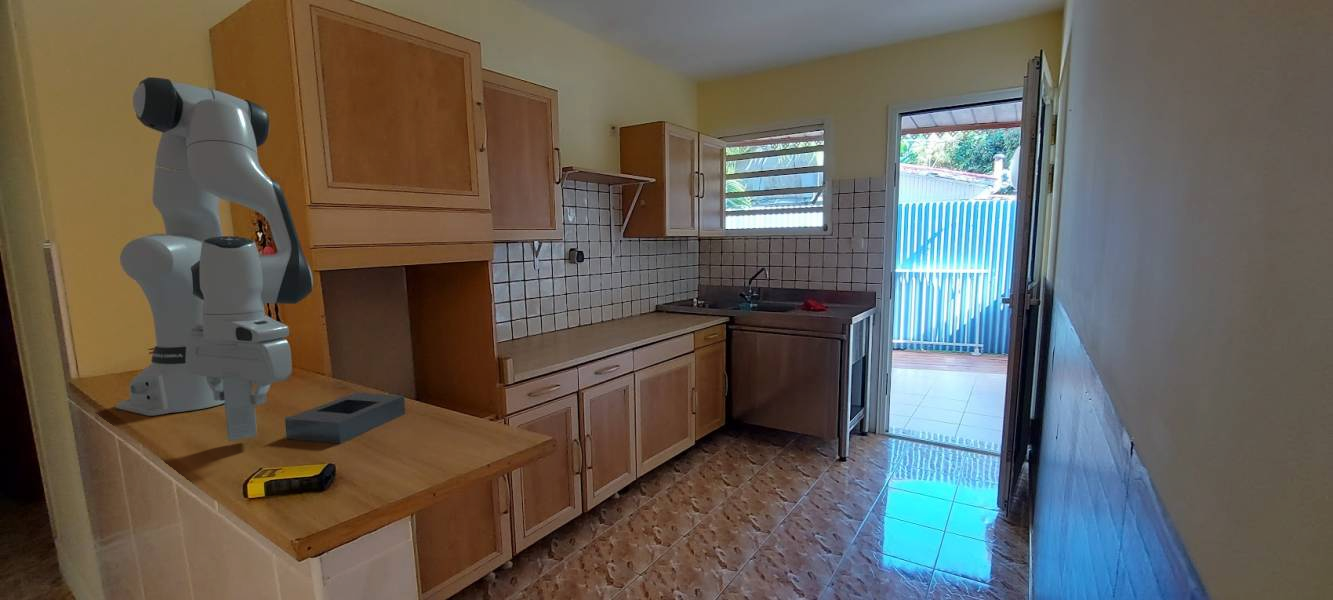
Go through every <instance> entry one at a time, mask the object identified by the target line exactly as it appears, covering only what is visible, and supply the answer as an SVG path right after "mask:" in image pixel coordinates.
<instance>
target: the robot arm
mask: <svg viewBox="0 0 1333 600" xmlns="http://www.w3.org/2000/svg"><path fill="white" fill-rule="evenodd" d="M132 104H133V109H134V112H135V114H136V118H137V119H138V120H139V122H140V123H141V124H142V125H144V127H146V128H149V129H151V130H155V131H156V132H159V133H162V134H161V135H160V139H159V143H158V146H157V151H156V157H155V163H154V171H153V172H154V173H153V174H154V175H153V186H152V187H153V188H152V198H151V199H152V200H151V201H152V203H153V205H154V207H155V209H157V210H158V212H159V213H160V216H161V217H162V221H163V224H164V228H165V233H154V234H153V233H152V234H148V235H145V236H141V237H137V238H135V239H132V240H131V241H129V242H128V243H127V244H125V245H124V247H123V248H122V250H121V252H120V255H119V261H120V266H121V269H122V270H123V271H124V273H125V274H126V275H127V276H129V277H130V278H131V279H133V280H134V281H135V282H136V283H137V284H138V285H139V286H140V288H141V290H142V292H143V294H144V296H145V297H146V300H147V302H148V304H149V306H150V307H149V308H150V309H151V312H152V317H153V322H154V323H153V325H154V331H155V343H156V345H155V347H154V348H153V347H152V348H148V349H147V350H148V351H150V352H148V353H147V354H148V355H152V356H151V363H150V364H149V365H148V366H147V367H145V369H143V370H142V371H141V372H140V373H138V374H137V375H136V376H134V377H133V378H132V379H131V381H130V383H129V398H128V399H124V400H121V401H119V402H117V403H116V404H115V408H116V409H119V410H123V411H127V412H132V413H136V414H140V415H145V416H149V417H152V416H153V417H154V416H160V415H165V414H171V413H181V412H189V411H197V410H201V409H207V408H211V407H216V406H219V405H222V404H225V401H224V390H223V373H228V374H238V375H239V377H240V379H241V380H248V381H252V382H253V387H255V388H256V389H255V390H254V392H253V395H250V398H251V404H254V405H259V406H261V405H263V404H266V402H267V393H268V391H269V390H270V388H271V385H272V384H273V383H277V382H282V381H284V380H287V379H289V377H290V376H291V375H292V370H293V369H292V368H293V366H292V352H291V351H292V350H291V346H290V343H289V342H288V340H287V339H286V338H287V337H289V335H290V328H289V326H288V325H287V324H285V323H282V322H281V321H278V320H275V319H274V318H271V317H270V316H269V315H266V313H265V305H264V304H274V303H275V304H281V305H282V304H283V305H288V304H289V305H296V304H298V303H300V302H301V301H303V300H304V299H306V298H307V296H309V295H310V294H311V293H312V292H313V287H314V277H313V272H312V270H311V267H310V265H309V263H308V261H307V259H306V256H305V253H304V251H303V248H302V244H301V243H300V239H299V234H298V232H297V229H296V225H295V223H294V220H293V217H292V212H291V210H290V207H289V204H288V201H287V198H286V196H285V194H284V190H283V189H282V187H281V185H280V183H279V182H278V181H277V180H276V179H275V180H274V179H273V178H271V177H269V176H268V175H267V174H266V173H265V171H264V169H263V168H262V166H261V164H260V161H259V155H258V148H259V147H260V146H261V147H262V145H264V144H265V143H266V141H267V139H268V136H269V133H270V117H269V114H268V113H267V111H266V110H265V108H264V107H263V106H261V105H259V104H257V103H256V102H254V101H252V100H249V99H242V98H239V97H236V96H234V95H232V94H229V93H226V92H223V91H219V90H216V89H212V88H206V87H202V86H198V85H193V84H189V83H183V82H177V81H176V82H175V81H171V80H170V79H168V78H163V77H162V78H161V77H146V78H145V79H143V80H141V81H140V82H139V84H138V86H137V87H136V88H135V91H134V92H133V96H132ZM220 199H222V200H225V201H228V202H231V203H233V204H238V205H240V206H243V207H247V208H249V209H251V210H253V211H256V212H257V213H259V214H260V215H261V216H263V217H264V218H265V219H266V220H267V222H268V225H269V228H270V231H271V234H272V238H273V241H274V245H275V247H276V250H277V252H276V253H273V254H272V253H271V254H259V250H258V247H257V243H256V241H254V240H252V239H250V238H247V237H241V236H228V235H227V236H224V234H223V229H222V223H221V220H220V207H219V206H220ZM152 350H153V351H152Z"/></svg>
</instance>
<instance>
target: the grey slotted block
mask: <svg viewBox="0 0 1333 600" xmlns="http://www.w3.org/2000/svg"><path fill="white" fill-rule="evenodd" d="M405 406H406V405H405V395H398V394H386V393H385V394H384V393H371V392H369V393H367V392H354V393H352V394H348V395H347V396H346V395H345V396H344V397H340V398H338V399H335V400H332V401H329V402H327V403H324V404H321V405H318V406H316V407H315V406H314V407H313V408H310V409H307V410H304V411H302V412H299V413H296V414H294V415H291V416H289V417H284V424H285V436H286V437H285V438H286V439H288V440H296V441H305V442H306V441H310V442H317V443H329V444H338V445H339V444H343V443H345V442H347V441H349V440H351V439H354V438H356V437H358V436H361V435H362V434H364V433H367V432H369V431H371V430H373V429H375V428H378V427H379V426H381V425H384V424H385V423H388V422H391V421H392V420H395V419H396V418H397V419H398V418H399V417H401V416H403V415H405V414H406V407H405Z"/></svg>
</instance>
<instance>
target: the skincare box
mask: <svg viewBox="0 0 1333 600" xmlns="http://www.w3.org/2000/svg"><path fill="white" fill-rule="evenodd" d="M253 387H254V383H253V381H248V380H241V379H240V377H239V375H238V374H228V373H223V390H224V401H225V403H224V411H225V418H226V419H225V420H226V421H225V422H226V431H227V439H228V440H227V441H229V442H233V441H237V440H246V439H250V438H255V437H257V436H258V433H257V432H258V431H257V429H258V427H257V417H256V407H255V404H251V398H250V395H253V394H254V388H253Z"/></svg>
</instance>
